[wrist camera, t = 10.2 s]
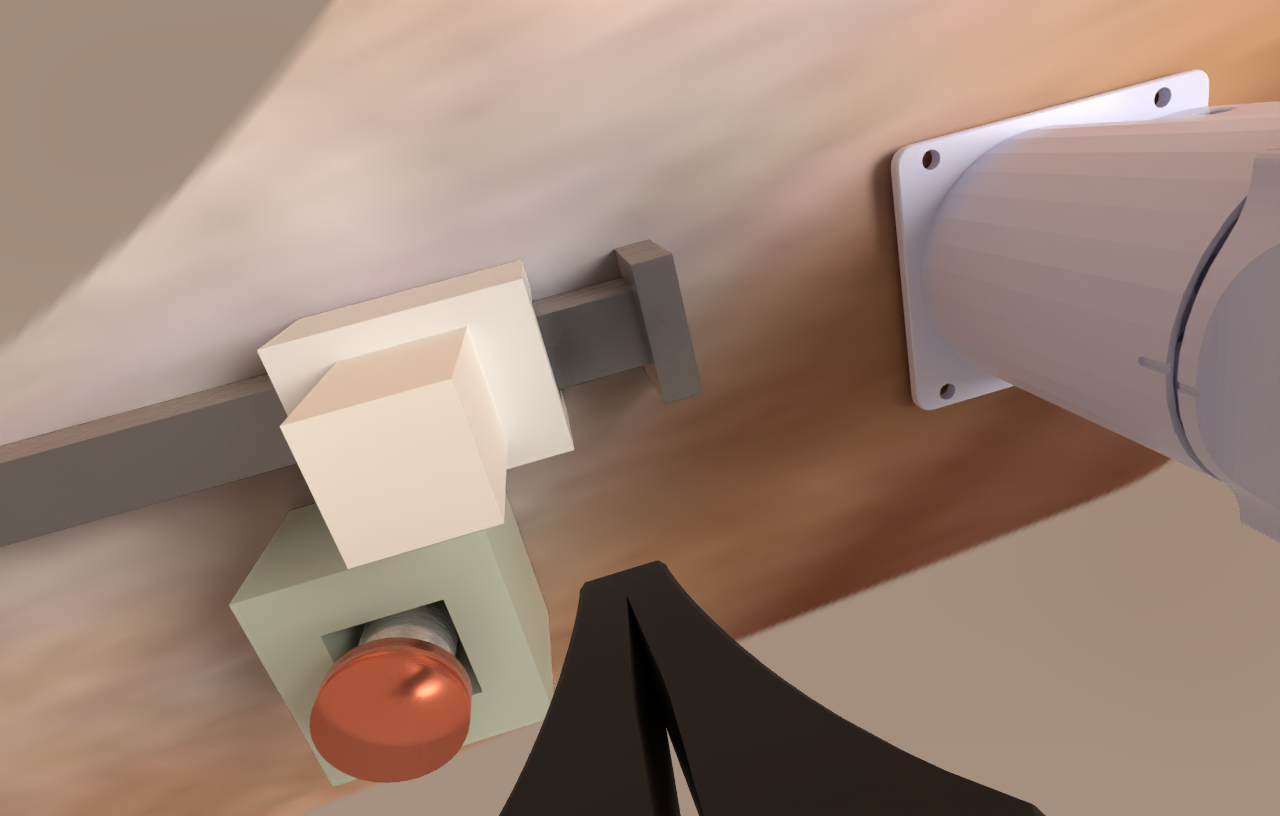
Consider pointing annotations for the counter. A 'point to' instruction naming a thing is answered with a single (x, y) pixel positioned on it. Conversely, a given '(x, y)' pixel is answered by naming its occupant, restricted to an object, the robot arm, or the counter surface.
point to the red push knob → (395, 699)
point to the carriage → (418, 409)
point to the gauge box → (348, 598)
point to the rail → (252, 414)
